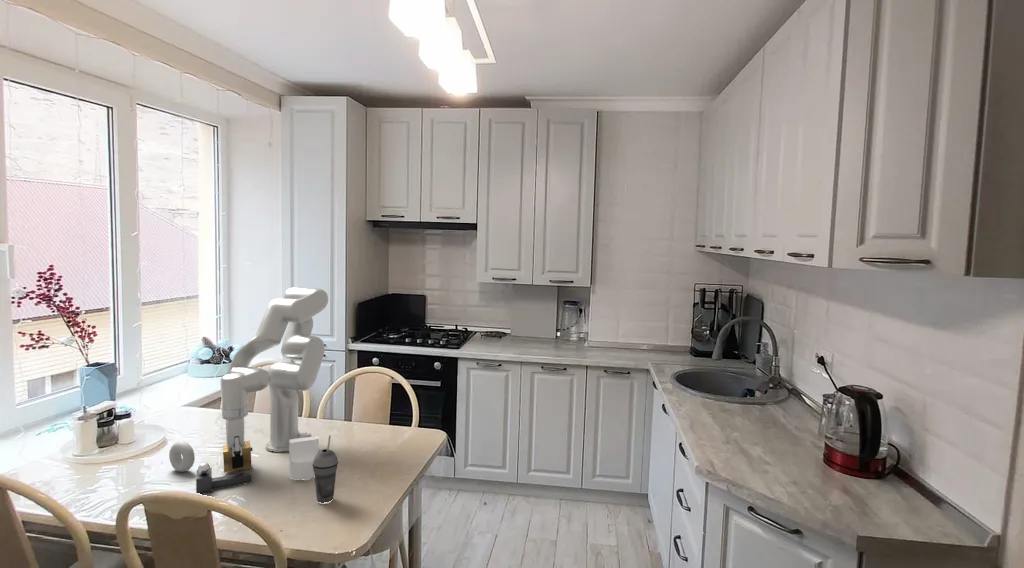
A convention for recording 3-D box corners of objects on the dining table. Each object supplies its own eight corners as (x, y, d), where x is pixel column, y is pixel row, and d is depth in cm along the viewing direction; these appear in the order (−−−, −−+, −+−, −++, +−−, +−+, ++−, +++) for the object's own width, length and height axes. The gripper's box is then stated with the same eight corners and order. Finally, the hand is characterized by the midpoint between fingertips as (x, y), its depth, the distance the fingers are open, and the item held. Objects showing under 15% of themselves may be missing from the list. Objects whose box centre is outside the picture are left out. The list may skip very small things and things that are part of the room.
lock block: (252, 459, 181) (251, 440, 180) (253, 467, 176) (252, 446, 175) (223, 464, 177) (222, 445, 176) (224, 472, 172) (223, 452, 171)
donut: (197, 472, 174) (197, 442, 173) (187, 476, 170) (186, 446, 170) (177, 466, 178) (176, 437, 177) (166, 470, 174) (166, 440, 174)
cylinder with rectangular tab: (290, 482, 169) (290, 446, 168) (288, 471, 177) (288, 436, 176) (320, 477, 173) (320, 442, 172) (316, 467, 181) (316, 432, 180)
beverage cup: (316, 495, 161) (316, 431, 160) (340, 494, 162) (341, 431, 160) (309, 507, 154) (309, 440, 152) (334, 506, 155) (335, 440, 153)
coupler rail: (250, 476, 172) (250, 452, 171) (252, 485, 166) (251, 460, 165) (196, 485, 165) (196, 460, 164) (196, 495, 158) (195, 468, 158)
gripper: (221, 404, 180) (224, 455, 182) (222, 422, 165) (225, 477, 167) (246, 401, 183) (248, 450, 186) (249, 418, 168) (251, 471, 171)
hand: (237, 462), depth 176 cm, fingers closed on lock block, 6 cm apart
